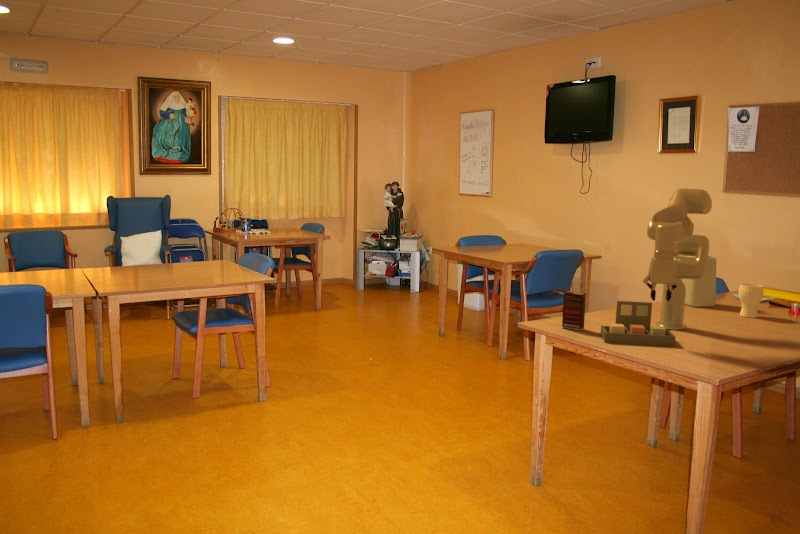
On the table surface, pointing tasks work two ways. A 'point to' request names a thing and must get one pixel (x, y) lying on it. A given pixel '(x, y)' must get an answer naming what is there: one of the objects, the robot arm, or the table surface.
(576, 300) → the supplement box
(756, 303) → the cup
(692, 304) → the beige rounded canister
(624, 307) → the card
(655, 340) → the key pad frame
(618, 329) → the tan square block
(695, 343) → the table surface
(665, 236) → the robot arm
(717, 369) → the table surface
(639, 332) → the terracotta key
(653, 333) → the olive square block
